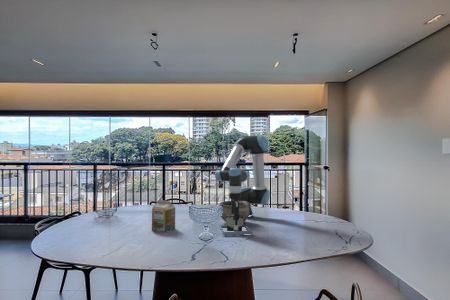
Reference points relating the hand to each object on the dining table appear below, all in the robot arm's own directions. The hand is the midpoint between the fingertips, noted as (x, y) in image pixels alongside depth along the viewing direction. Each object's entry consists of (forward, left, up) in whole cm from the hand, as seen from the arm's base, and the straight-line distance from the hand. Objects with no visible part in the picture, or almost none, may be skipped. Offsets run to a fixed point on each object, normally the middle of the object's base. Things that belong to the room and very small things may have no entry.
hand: (234, 228), depth 185 cm
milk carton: (-11, -45, -2) cm, 46 cm away
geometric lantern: (-59, -92, -2) cm, 109 cm away
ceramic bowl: (-24, +4, -2) cm, 24 cm away
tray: (0, 0, -2) cm, 2 cm away
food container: (0, 0, -1) cm, 1 cm away
